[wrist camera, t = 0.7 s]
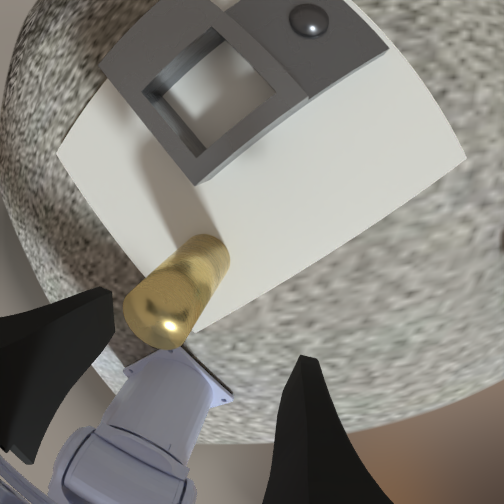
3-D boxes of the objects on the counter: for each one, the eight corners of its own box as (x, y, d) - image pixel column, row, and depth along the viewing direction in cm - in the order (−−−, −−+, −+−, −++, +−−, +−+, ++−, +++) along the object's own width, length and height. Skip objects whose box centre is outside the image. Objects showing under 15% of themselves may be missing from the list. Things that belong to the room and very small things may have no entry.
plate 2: (210, 179, 16) (200, 184, 14) (143, 97, 15) (128, 95, 13) (384, 54, 11) (391, 46, 10) (300, -25, 10) (299, -38, 8)
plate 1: (210, 179, 16) (194, 186, 14) (120, 70, 14) (97, 65, 12) (308, 103, 13) (308, 96, 11) (199, -4, 11) (183, -20, 9)
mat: (199, 325, 21) (195, 333, 20) (64, 152, 18) (56, 153, 17) (459, 156, 13) (467, 158, 12) (277, -49, 10) (275, -57, 9)
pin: (204, 288, 19) (157, 357, 12) (173, 252, 18) (111, 308, 12) (240, 264, 17) (201, 334, 11) (207, 223, 17) (148, 275, 11)
